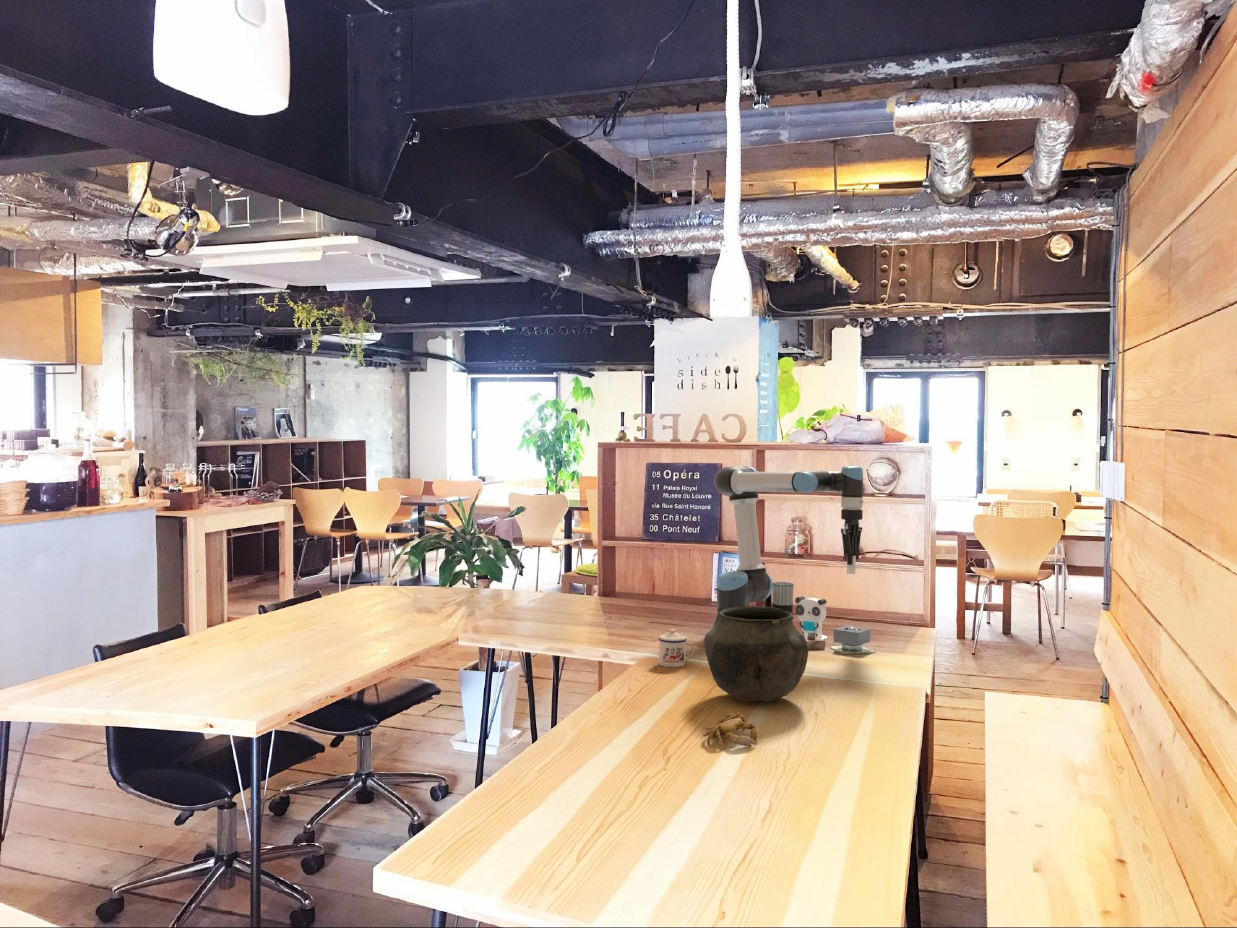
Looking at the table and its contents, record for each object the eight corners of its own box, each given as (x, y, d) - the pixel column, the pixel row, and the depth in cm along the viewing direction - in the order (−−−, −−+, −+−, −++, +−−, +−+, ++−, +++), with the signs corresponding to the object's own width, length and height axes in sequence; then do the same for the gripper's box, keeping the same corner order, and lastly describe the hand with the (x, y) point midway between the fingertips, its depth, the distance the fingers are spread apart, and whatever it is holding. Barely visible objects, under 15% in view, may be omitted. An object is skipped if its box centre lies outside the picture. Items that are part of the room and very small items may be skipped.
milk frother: (797, 617, 381) (797, 583, 381) (782, 623, 368) (782, 587, 368) (765, 614, 389) (766, 580, 389) (750, 619, 376) (750, 584, 375)
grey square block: (858, 645, 313) (858, 632, 313) (833, 641, 319) (833, 629, 319) (870, 641, 321) (870, 628, 321) (845, 637, 327) (845, 625, 327)
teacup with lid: (660, 668, 291) (661, 632, 291) (656, 661, 300) (656, 626, 300) (697, 667, 292) (697, 631, 292) (691, 660, 301) (692, 626, 301)
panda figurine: (789, 636, 342) (789, 597, 341) (805, 632, 350) (805, 594, 350) (817, 641, 334) (817, 601, 333) (832, 637, 342) (833, 598, 342)
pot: (742, 721, 235) (743, 626, 234) (686, 691, 264) (687, 606, 263) (833, 709, 246) (835, 618, 246) (770, 681, 275) (771, 600, 275)
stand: (807, 649, 320) (807, 634, 320) (798, 645, 327) (798, 630, 327) (824, 648, 322) (825, 633, 322) (815, 644, 329) (815, 629, 328)
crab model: (745, 755, 209) (746, 732, 209) (696, 746, 216) (696, 723, 216) (769, 737, 223) (769, 715, 223) (721, 728, 229) (722, 707, 229)
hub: (844, 654, 313) (844, 631, 313) (829, 647, 324) (829, 625, 324) (875, 652, 316) (875, 629, 316) (858, 645, 327) (859, 624, 327)
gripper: (853, 510, 319) (852, 576, 319) (869, 508, 329) (868, 572, 329) (834, 509, 324) (833, 574, 324) (850, 507, 334) (849, 570, 334)
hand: (851, 573), depth 327 cm, fingers closed
